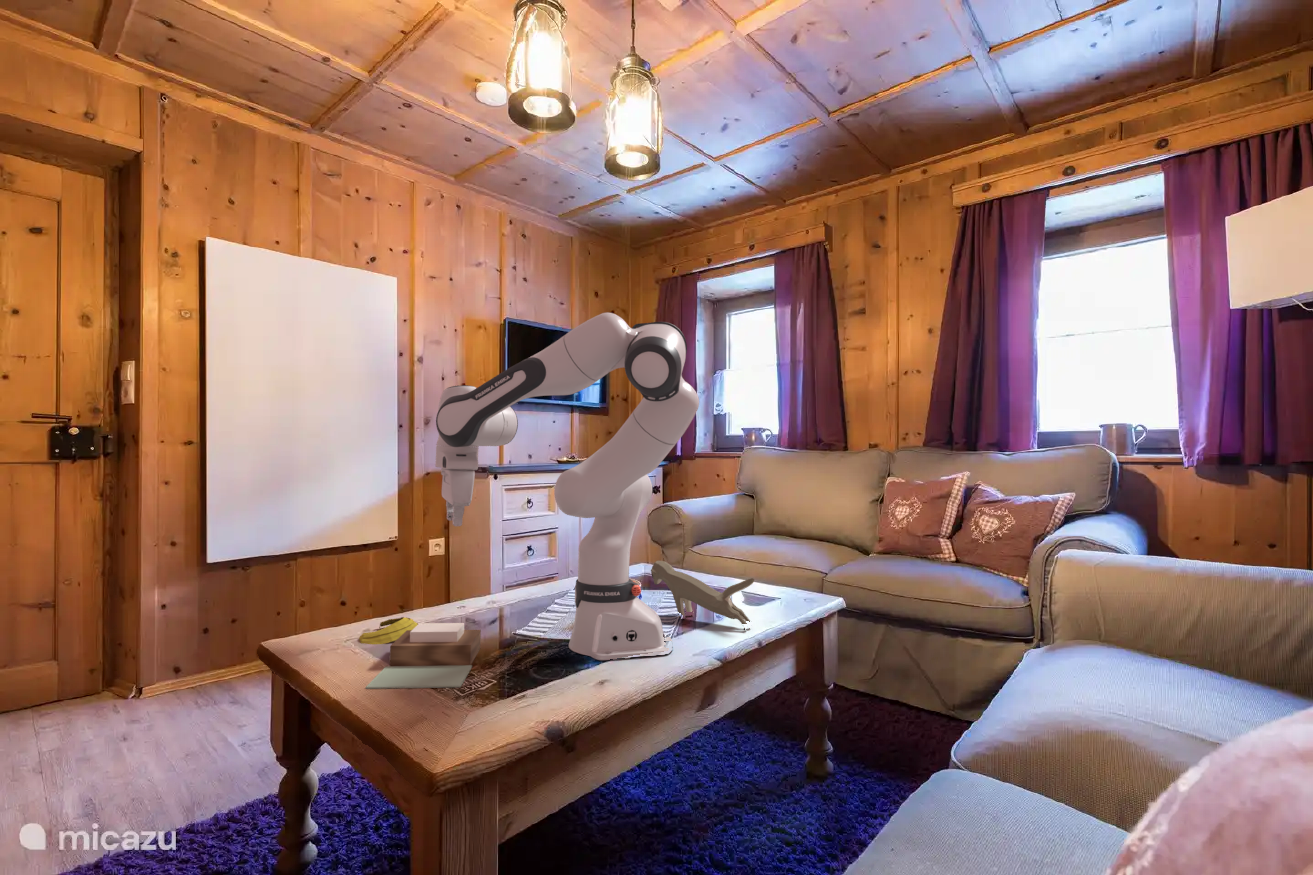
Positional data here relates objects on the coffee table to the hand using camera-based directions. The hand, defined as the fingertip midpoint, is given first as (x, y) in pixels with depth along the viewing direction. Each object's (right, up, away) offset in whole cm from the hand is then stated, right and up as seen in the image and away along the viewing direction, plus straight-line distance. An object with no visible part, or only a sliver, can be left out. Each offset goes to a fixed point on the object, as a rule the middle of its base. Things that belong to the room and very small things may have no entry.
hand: (454, 522), depth 130 cm
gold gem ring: (-14, -26, +3) cm, 30 cm away
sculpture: (+55, -28, +20) cm, 65 cm away
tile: (0, -21, -11) cm, 24 cm away
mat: (+1, -25, -21) cm, 33 cm away
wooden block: (0, -25, -11) cm, 28 cm away
